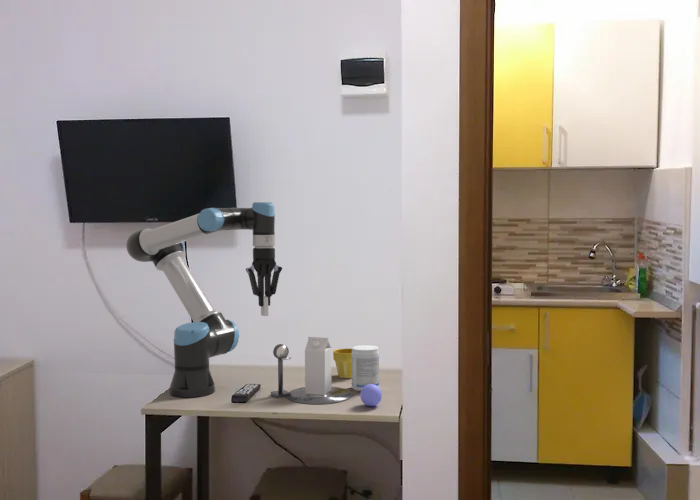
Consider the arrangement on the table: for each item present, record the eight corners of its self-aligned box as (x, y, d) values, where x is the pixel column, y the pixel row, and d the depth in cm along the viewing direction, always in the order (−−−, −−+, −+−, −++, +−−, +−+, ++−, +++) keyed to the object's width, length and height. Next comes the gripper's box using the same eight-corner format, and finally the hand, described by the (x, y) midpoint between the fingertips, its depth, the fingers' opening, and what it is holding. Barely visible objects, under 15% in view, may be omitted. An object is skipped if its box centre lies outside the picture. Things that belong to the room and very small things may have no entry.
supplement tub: (384, 389, 253) (384, 347, 252) (364, 393, 247) (364, 351, 246) (366, 384, 260) (366, 343, 259) (346, 388, 254) (346, 347, 253)
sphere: (376, 410, 227) (376, 388, 227) (356, 407, 230) (356, 385, 230) (385, 404, 234) (385, 383, 233) (365, 402, 237) (365, 380, 236)
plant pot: (335, 372, 277) (335, 347, 277) (362, 373, 276) (361, 348, 276) (331, 379, 267) (331, 353, 266) (359, 380, 266) (359, 353, 265)
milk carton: (312, 389, 251) (311, 335, 250) (331, 390, 249) (331, 336, 248) (305, 394, 245) (304, 338, 243) (324, 395, 243) (324, 339, 241)
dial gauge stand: (278, 398, 241) (277, 346, 240) (270, 394, 246) (270, 343, 245) (291, 396, 244) (291, 344, 243) (284, 392, 249) (283, 342, 247)
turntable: (305, 407, 230) (305, 406, 230) (275, 392, 248) (275, 391, 248) (363, 398, 241) (363, 396, 241) (331, 384, 260) (331, 383, 260)
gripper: (250, 248, 241) (251, 318, 243) (285, 247, 248) (286, 315, 249) (241, 247, 247) (242, 315, 249) (276, 246, 254) (277, 312, 256)
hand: (264, 315), depth 249 cm, fingers closed
